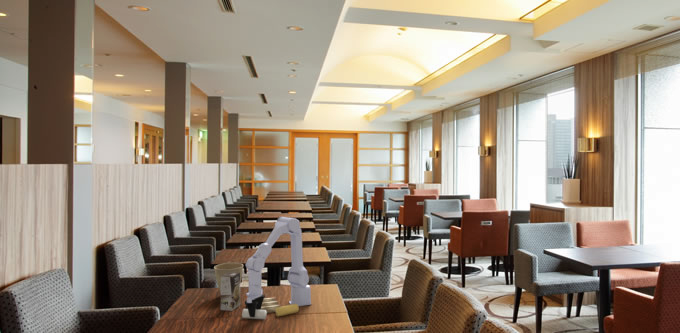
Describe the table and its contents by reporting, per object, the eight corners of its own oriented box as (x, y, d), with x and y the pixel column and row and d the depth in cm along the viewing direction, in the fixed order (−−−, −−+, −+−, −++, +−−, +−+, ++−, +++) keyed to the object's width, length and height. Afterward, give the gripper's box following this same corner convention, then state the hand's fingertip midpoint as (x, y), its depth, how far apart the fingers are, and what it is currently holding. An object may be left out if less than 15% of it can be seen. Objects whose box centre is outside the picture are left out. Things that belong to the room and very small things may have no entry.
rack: (275, 302, 224) (275, 296, 224) (280, 311, 212) (280, 304, 212) (246, 306, 220) (246, 299, 220) (250, 314, 207) (250, 308, 207)
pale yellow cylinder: (294, 311, 212) (294, 302, 212) (298, 313, 209) (298, 304, 209) (275, 315, 207) (275, 306, 207) (279, 317, 203) (279, 308, 203)
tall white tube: (267, 312, 205) (265, 308, 202) (265, 321, 202) (262, 316, 199) (246, 311, 206) (243, 307, 204) (243, 319, 203) (241, 315, 201)
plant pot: (221, 291, 244) (220, 262, 244) (247, 292, 242) (247, 263, 242) (209, 300, 229) (209, 268, 229) (237, 301, 227) (237, 269, 227)
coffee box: (232, 311, 212) (232, 276, 212) (220, 310, 214) (219, 276, 214) (241, 305, 221) (240, 272, 221) (228, 304, 223) (228, 271, 222)
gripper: (252, 279, 211) (252, 308, 211) (240, 288, 197) (240, 319, 197) (267, 280, 210) (267, 309, 210) (255, 288, 196) (255, 320, 196)
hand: (255, 314), depth 203 cm, fingers open, 7 cm apart
